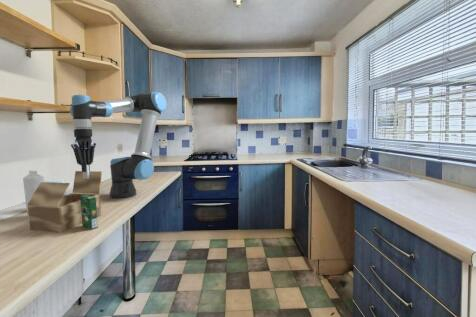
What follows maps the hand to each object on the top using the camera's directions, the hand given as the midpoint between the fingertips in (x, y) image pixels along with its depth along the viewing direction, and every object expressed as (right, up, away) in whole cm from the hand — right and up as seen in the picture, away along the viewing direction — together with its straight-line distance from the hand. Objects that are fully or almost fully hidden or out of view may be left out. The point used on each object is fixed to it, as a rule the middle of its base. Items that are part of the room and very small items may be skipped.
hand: (86, 178), depth 136 cm
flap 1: (-5, -5, -19) cm, 20 cm away
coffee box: (+11, -19, -17) cm, 28 cm away
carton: (-3, -19, -10) cm, 21 cm away
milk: (-23, -18, 0) cm, 29 cm away
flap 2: (0, -2, 0) cm, 2 cm away
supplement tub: (-23, -17, +14) cm, 32 cm away
